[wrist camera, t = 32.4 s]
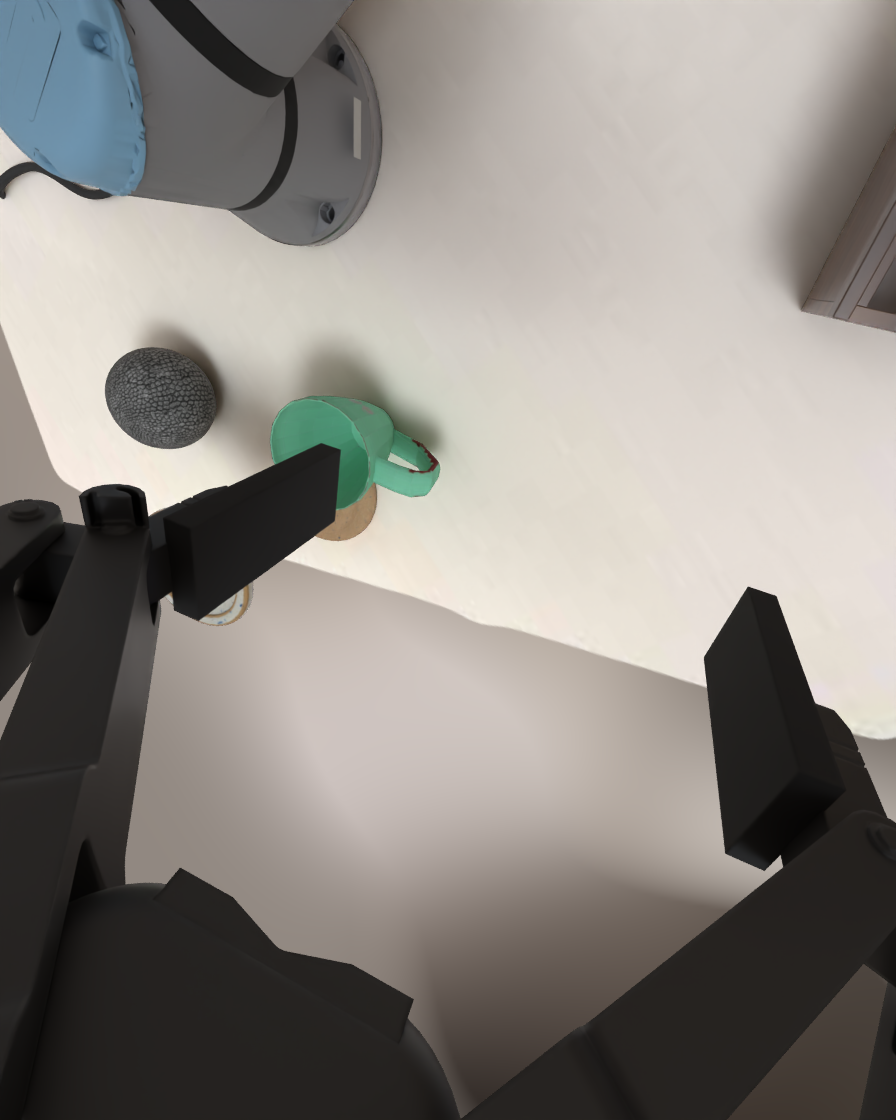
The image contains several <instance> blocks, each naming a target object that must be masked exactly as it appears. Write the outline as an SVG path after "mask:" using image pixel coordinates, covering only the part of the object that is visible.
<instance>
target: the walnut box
mask: <svg viewBox="0 0 896 1120" xmlns="http://www.w3.org/2000/svg"><path fill="white" fill-rule="evenodd" d="M801 311H802V312H807V313H811V314H816V315H820V316H824V317H829V318H833V319H838V320H842V321H846V322H851V323H855V324H859V325H864V326H868V327H873V328H877V329H881V330H886V331H890V332H895V333H896V126H895V128H894V130H893V132H892V134H891V136H890V138H889V139H888V141H887V143H886V145H885V147H884V149H883V151H882V153H881V155H880V157H879V159H878V161H877V163H876V165H875V167H874V169H873V171H872V173H871V175H870V177H869V179H868V181H867V183H866V185H865V187H864V188H863V190H862V192H861V194H860V196H859V198H858V200H857V202H856V204H855V206H854V208H853V210H852V212H851V214H850V216H849V218H848V220H847V222H846V224H845V226H844V228H843V230H842V232H841V234H840V236H839V237H838V239H837V241H836V243H835V245H834V247H833V249H832V251H831V253H830V255H829V257H828V259H827V261H826V263H825V265H824V267H823V269H822V271H821V273H820V275H819V277H818V279H817V281H816V283H815V284H814V286H813V288H812V290H811V292H810V294H809V296H808V298H807V300H806V302H805V304H804V306H803V308H802V310H801Z"/></svg>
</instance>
